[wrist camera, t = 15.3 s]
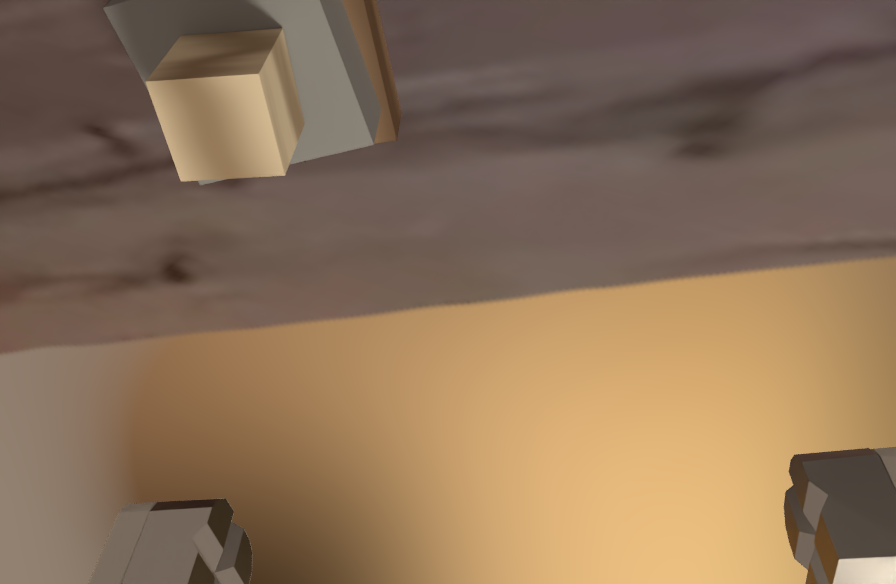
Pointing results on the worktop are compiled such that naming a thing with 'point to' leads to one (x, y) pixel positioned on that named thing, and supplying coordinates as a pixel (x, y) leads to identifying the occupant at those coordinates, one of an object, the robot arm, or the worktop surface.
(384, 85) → the walnut base slab
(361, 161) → the worktop surface
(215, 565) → the robot arm
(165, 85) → the birch block
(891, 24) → the worktop surface
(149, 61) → the slate top slab
